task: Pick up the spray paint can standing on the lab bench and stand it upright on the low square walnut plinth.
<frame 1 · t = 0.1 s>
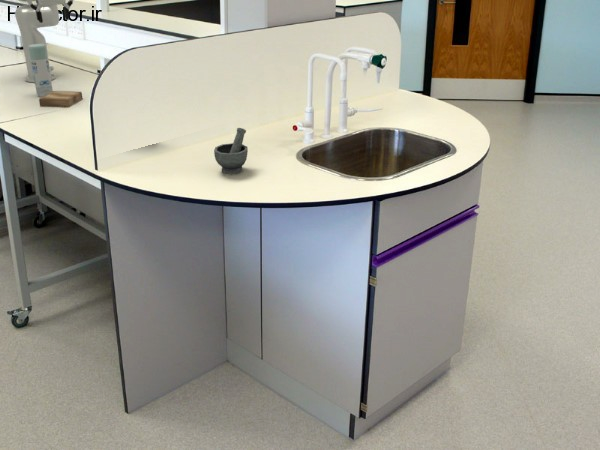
hand: (54, 20, 266), 31 cm above the table, tool pointing down, fingers open, 9 cm apart
plinth: (61, 102, 279), on the table
spray paint can: (45, 95, 289), on the table
mortar and pestle: (233, 170, 209), on the table
pill bottle: (112, 108, 271), on the table
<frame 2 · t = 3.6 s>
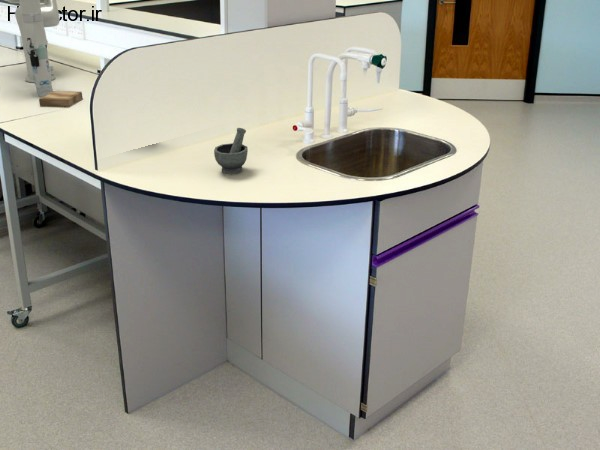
hand: (40, 64, 284), 13 cm above the table, tool pointing down, fingers closed on spray paint can, 6 cm apart
spray paint can: (45, 95, 289), on the table, touching gripper
everything else where it was.
when the fingers open (17 cm above the table, at t = 8.8 s): spray paint can stays where it is, resting on plinth.
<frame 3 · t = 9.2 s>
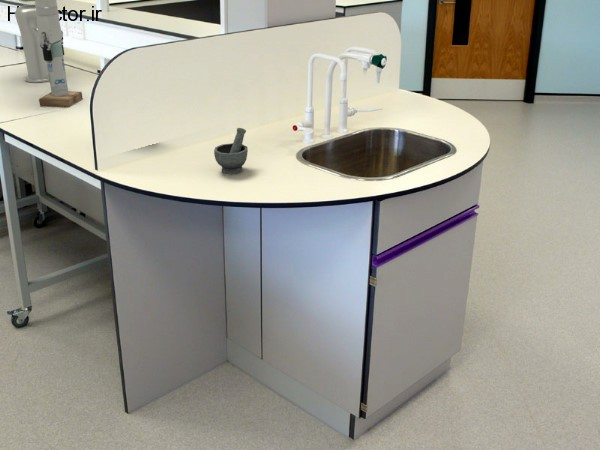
hand: (54, 57, 271), 18 cm above the table, tool pointing down, fingers open, 9 cm apart
spray paint can: (60, 95, 278), point 3 cm above the table, touching plinth
everything else where it was.
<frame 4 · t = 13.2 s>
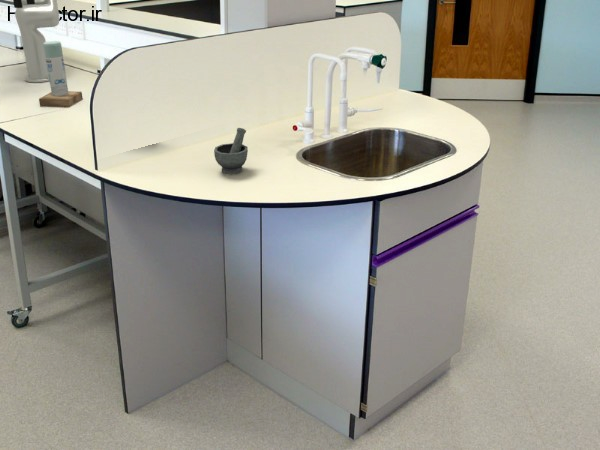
hand: (24, 6, 280), 34 cm above the table, tool pointing down, fingers open, 9 cm apart
nothing on the table moved.
at the end: spray paint can inside the target area on the plinth (0.2 cm from its centre), point 3.0 cm above the plinth's base; spray paint can tilted 0°; the gripper is holding nothing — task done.
